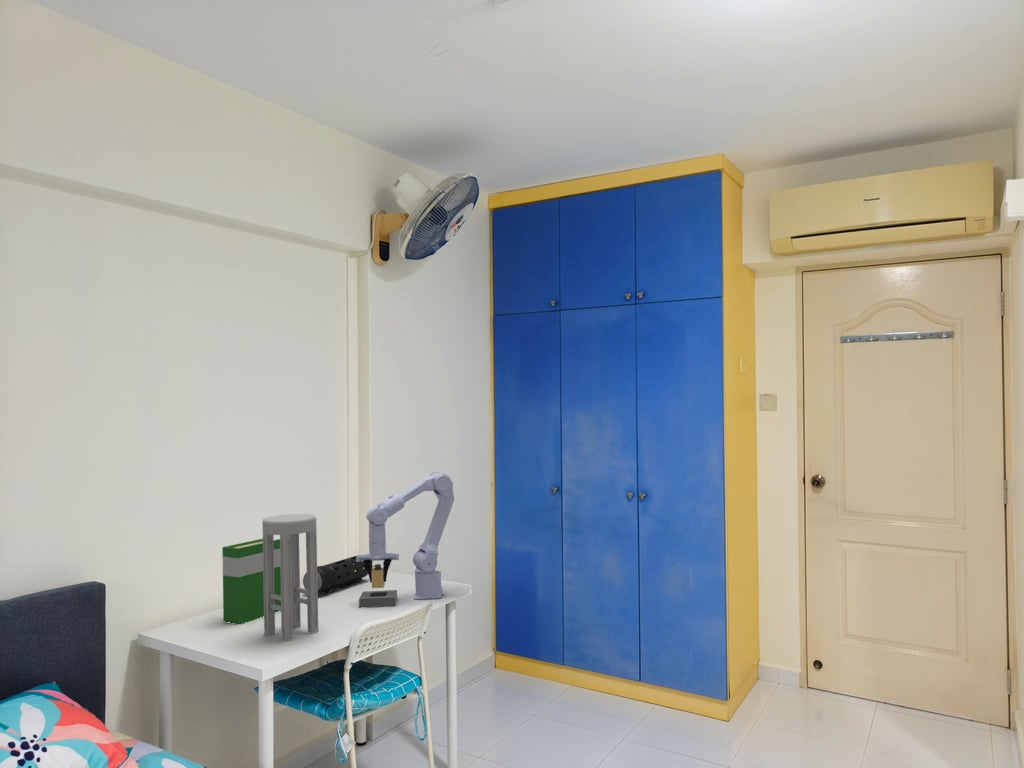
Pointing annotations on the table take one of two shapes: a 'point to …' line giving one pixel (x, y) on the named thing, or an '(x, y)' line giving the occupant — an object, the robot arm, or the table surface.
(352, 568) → the muzzle brake
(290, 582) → the stool
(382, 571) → the plug
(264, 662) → the table surface
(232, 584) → the hardback book
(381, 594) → the socket housing
